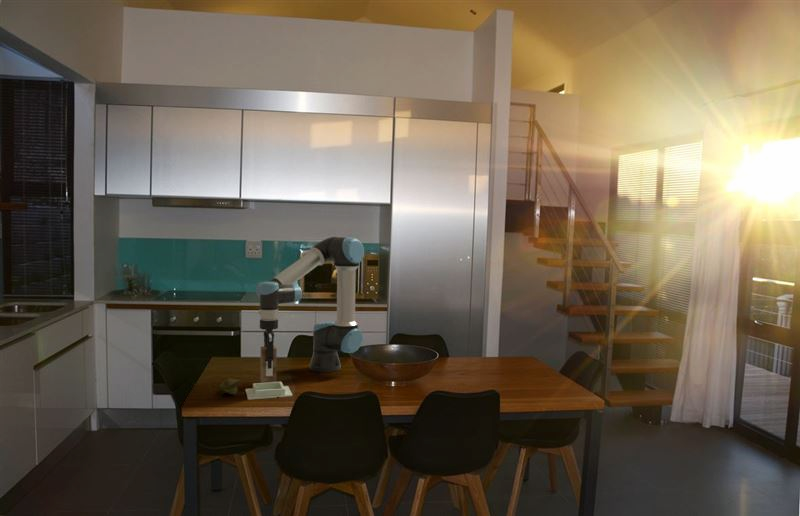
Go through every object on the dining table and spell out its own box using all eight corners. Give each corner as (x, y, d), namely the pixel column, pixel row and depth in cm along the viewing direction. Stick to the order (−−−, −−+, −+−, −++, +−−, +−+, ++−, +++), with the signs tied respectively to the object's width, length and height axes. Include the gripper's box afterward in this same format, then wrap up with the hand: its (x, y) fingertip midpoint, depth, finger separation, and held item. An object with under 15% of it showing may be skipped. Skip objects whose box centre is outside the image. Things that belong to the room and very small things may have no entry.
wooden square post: (274, 378, 261) (275, 346, 260) (276, 381, 256) (276, 348, 255) (260, 379, 259) (260, 346, 258) (261, 382, 254) (261, 349, 253)
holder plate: (287, 387, 268) (288, 380, 267) (292, 396, 254) (292, 389, 254) (245, 390, 262) (245, 383, 262) (248, 399, 249) (248, 392, 248)
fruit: (248, 394, 257) (248, 378, 257) (222, 399, 249) (222, 383, 248) (235, 388, 265) (235, 373, 265) (209, 393, 257) (208, 377, 257)
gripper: (257, 315, 263) (257, 369, 265) (261, 323, 246) (261, 380, 248) (275, 315, 266) (275, 368, 267) (280, 322, 249) (280, 379, 250)
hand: (268, 374), depth 257 cm, fingers closed on wooden square post, 5 cm apart
